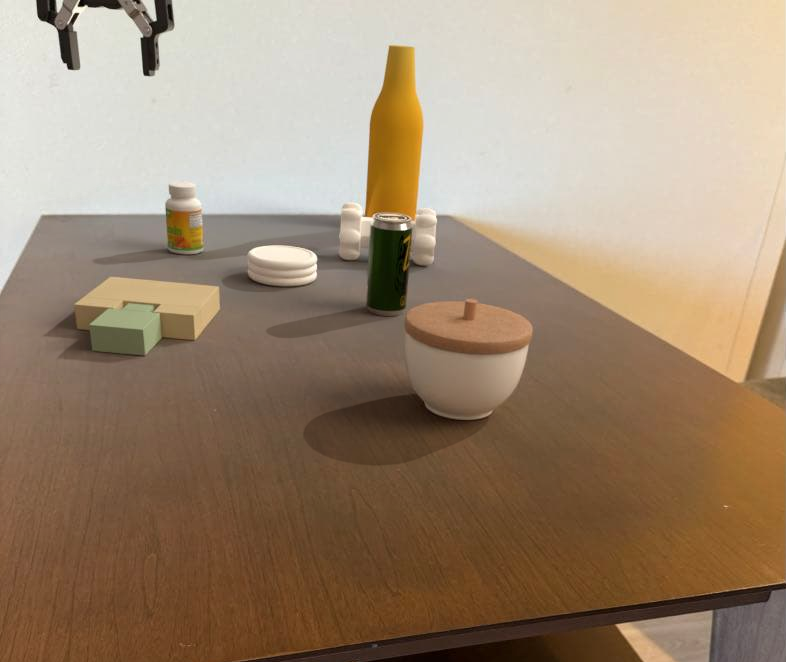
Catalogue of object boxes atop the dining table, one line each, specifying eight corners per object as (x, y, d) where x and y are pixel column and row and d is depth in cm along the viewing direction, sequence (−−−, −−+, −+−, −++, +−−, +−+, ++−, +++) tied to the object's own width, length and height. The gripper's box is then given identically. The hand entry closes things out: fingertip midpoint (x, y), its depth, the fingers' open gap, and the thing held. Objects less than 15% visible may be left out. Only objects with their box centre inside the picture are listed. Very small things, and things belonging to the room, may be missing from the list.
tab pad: (145, 356, 94) (143, 329, 92) (92, 351, 94) (88, 324, 93) (168, 331, 101) (166, 306, 100) (118, 326, 101) (115, 301, 100)
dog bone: (431, 257, 140) (436, 205, 136) (433, 271, 133) (438, 216, 128) (340, 250, 139) (342, 198, 135) (337, 264, 132) (339, 209, 128)
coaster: (258, 289, 118) (258, 263, 116) (239, 269, 126) (239, 245, 124) (326, 285, 122) (327, 260, 120) (303, 267, 129) (304, 243, 127)
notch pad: (77, 329, 100) (73, 304, 98) (112, 299, 110) (110, 276, 108) (195, 340, 99) (193, 315, 98) (220, 309, 109) (219, 286, 108)
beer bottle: (353, 227, 154) (361, 42, 138) (391, 223, 159) (403, 44, 144) (387, 239, 148) (400, 48, 133) (425, 233, 154) (441, 49, 138)
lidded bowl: (515, 439, 82) (534, 328, 77) (388, 421, 84) (396, 311, 78) (522, 391, 93) (538, 291, 87) (408, 376, 94) (417, 276, 89)
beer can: (366, 315, 112) (371, 220, 105) (365, 303, 116) (370, 211, 110) (406, 317, 112) (414, 223, 106) (404, 305, 117) (411, 213, 110)
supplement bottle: (160, 250, 132) (155, 183, 127) (186, 244, 136) (182, 179, 130) (185, 257, 129) (181, 189, 124) (210, 251, 133) (208, 185, 128)
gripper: (174, -99, 89) (183, 76, 98) (40, -110, 90) (62, 65, 98) (152, -107, 83) (164, 80, 92) (8, -119, 83) (34, 69, 92)
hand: (111, 72), depth 95 cm, fingers open, 8 cm apart
